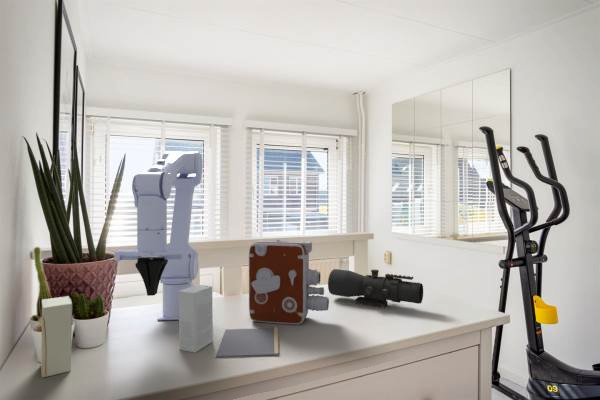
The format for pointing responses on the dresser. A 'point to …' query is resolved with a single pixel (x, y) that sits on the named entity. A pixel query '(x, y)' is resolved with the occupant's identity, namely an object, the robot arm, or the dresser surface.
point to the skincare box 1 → (56, 336)
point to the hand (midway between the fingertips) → (152, 294)
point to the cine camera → (283, 282)
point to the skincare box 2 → (195, 318)
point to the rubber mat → (249, 343)
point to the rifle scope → (374, 288)
